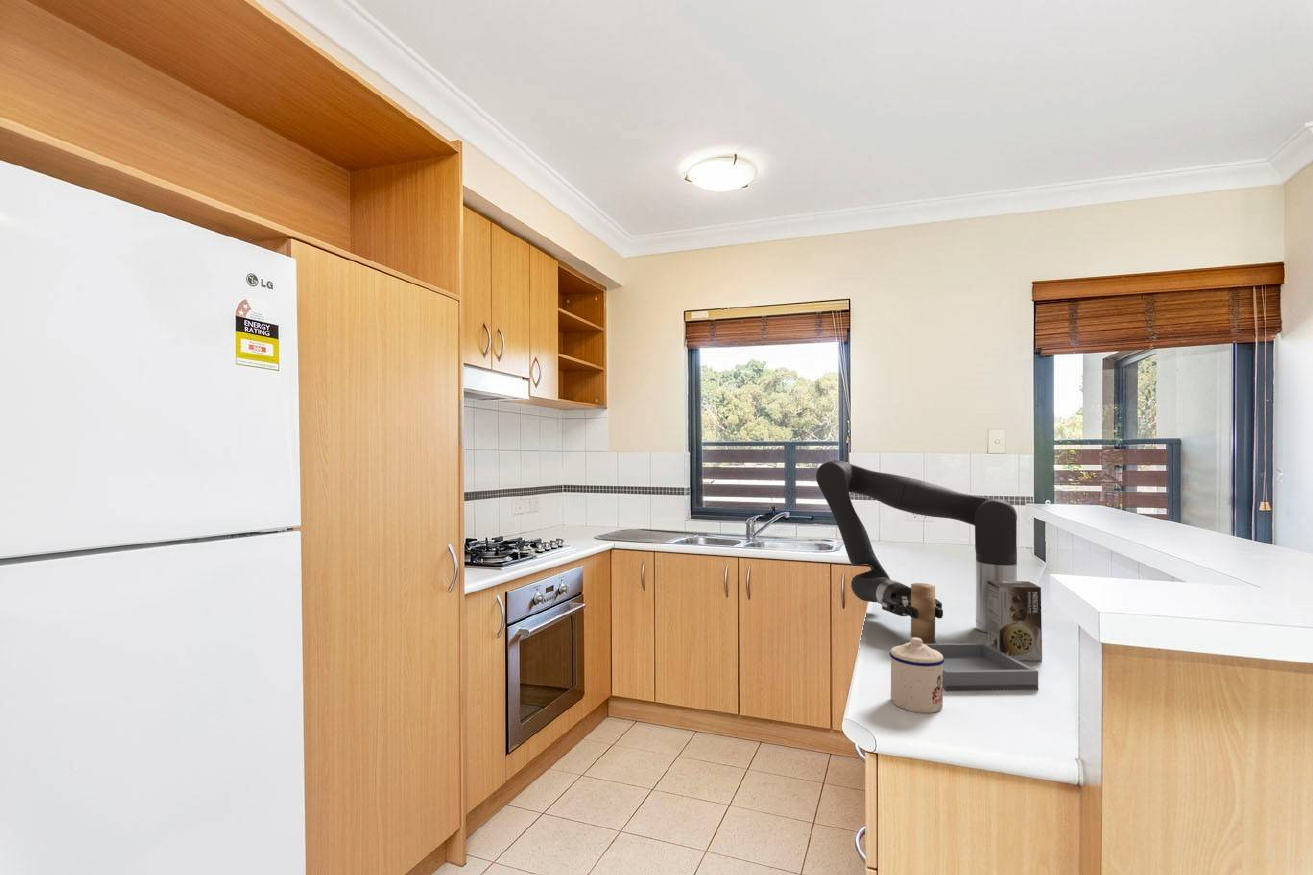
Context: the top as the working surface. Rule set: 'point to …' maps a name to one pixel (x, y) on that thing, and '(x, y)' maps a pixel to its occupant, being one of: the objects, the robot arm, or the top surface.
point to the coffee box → (1015, 619)
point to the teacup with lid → (917, 677)
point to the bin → (983, 669)
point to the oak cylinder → (923, 612)
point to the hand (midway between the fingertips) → (928, 613)
